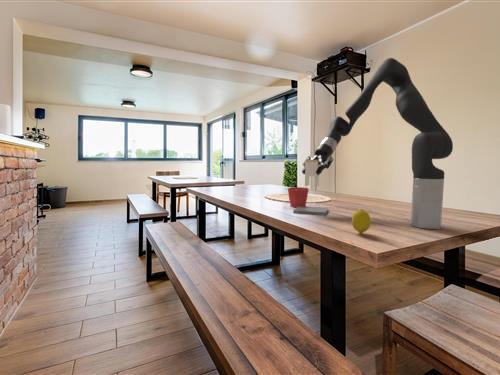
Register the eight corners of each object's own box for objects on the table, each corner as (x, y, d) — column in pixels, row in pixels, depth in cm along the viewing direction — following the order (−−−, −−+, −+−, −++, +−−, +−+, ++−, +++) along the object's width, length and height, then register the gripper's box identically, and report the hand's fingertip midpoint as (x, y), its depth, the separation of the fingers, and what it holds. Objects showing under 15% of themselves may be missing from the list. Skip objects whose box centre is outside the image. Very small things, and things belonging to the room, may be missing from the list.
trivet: (324, 215, 120) (325, 212, 120) (293, 213, 125) (293, 210, 125) (327, 210, 133) (327, 207, 133) (299, 208, 138) (299, 206, 138)
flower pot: (284, 205, 149) (284, 187, 148) (302, 204, 152) (302, 186, 152) (293, 208, 139) (293, 189, 138) (312, 207, 142) (312, 188, 141)
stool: (317, 186, 125) (317, 159, 124) (304, 186, 127) (305, 159, 126) (318, 185, 130) (319, 159, 129) (306, 185, 132) (307, 160, 131)
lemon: (348, 231, 91) (349, 207, 90) (364, 231, 91) (365, 207, 91) (356, 236, 85) (357, 210, 85) (373, 235, 86) (374, 210, 85)
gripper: (311, 143, 137) (294, 167, 131) (335, 142, 126) (319, 167, 120) (317, 154, 141) (301, 178, 135) (342, 154, 129) (326, 179, 123)
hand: (310, 173), depth 127 cm, fingers closed on stool, 7 cm apart
